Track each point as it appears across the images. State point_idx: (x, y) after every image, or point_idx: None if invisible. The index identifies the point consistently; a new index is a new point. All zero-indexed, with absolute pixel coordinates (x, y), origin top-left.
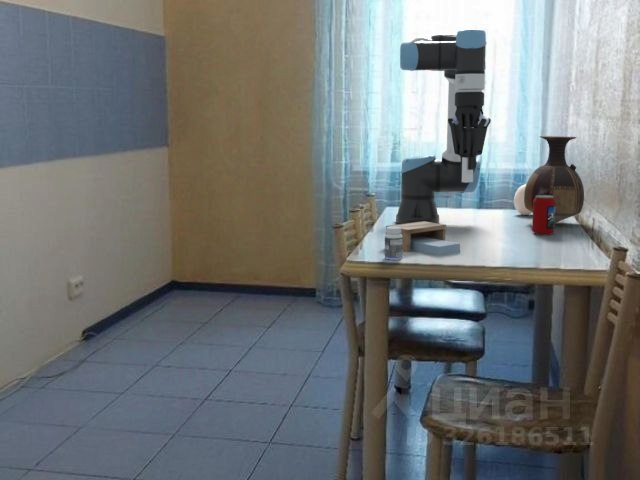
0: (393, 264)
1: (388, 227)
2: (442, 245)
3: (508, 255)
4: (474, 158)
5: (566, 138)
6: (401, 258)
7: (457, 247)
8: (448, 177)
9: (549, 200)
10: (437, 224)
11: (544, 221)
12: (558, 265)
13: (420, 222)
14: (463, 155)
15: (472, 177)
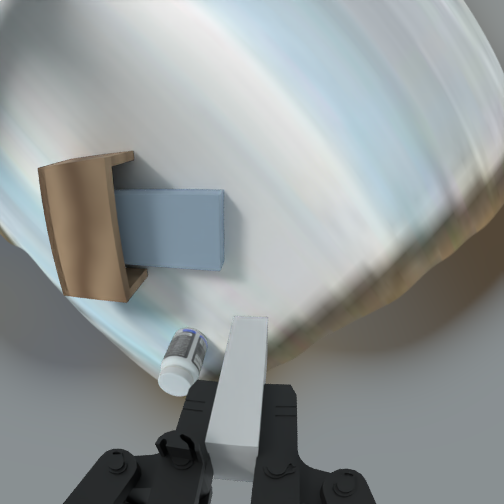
0: None
1: (168, 390)
2: (212, 252)
3: (334, 123)
4: (296, 455)
5: None
6: (205, 338)
7: (220, 202)
8: None
9: None
10: (91, 176)
11: None
12: (470, 151)
13: (48, 190)
14: (211, 486)
15: (266, 337)
